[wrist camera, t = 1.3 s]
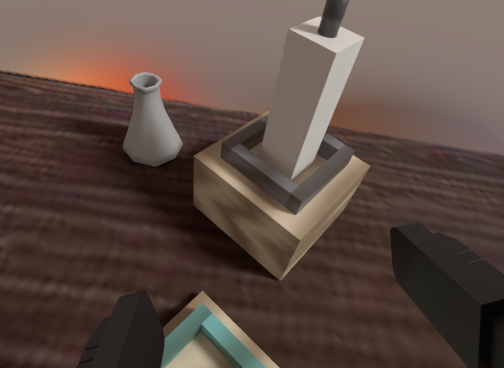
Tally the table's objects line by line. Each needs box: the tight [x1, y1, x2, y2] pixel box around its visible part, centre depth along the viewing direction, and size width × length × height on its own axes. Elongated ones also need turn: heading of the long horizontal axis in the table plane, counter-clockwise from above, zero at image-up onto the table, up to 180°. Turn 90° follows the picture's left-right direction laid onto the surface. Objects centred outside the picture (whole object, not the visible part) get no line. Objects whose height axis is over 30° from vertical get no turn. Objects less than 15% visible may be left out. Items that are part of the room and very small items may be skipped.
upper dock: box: [193, 110, 370, 281], centre depth 35 cm, size 13×13×10 cm
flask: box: [122, 72, 183, 167], centre depth 38 cm, size 7×7×10 cm
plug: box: [259, 0, 364, 181], centre depth 27 cm, size 4×4×16 cm
